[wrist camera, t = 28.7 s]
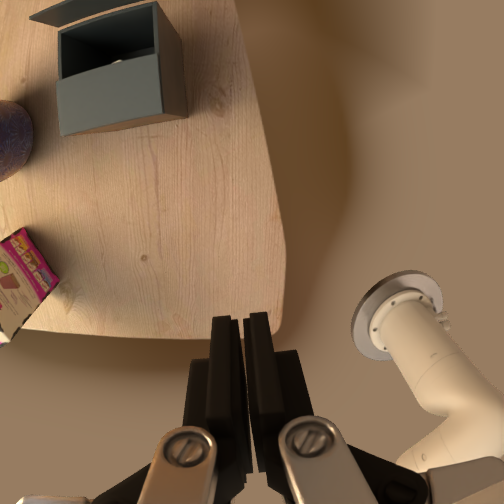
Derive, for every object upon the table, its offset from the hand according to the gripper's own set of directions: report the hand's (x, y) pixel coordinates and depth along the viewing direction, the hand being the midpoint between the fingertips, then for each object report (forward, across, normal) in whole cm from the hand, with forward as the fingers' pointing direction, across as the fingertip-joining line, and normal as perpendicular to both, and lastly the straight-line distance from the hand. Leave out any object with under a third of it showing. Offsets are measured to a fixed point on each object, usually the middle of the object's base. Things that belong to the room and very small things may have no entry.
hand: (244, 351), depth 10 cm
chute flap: (+18, +10, -11) cm, 24 cm away
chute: (+33, +10, -14) cm, 37 cm away
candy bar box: (+33, +34, +8) cm, 48 cm away
